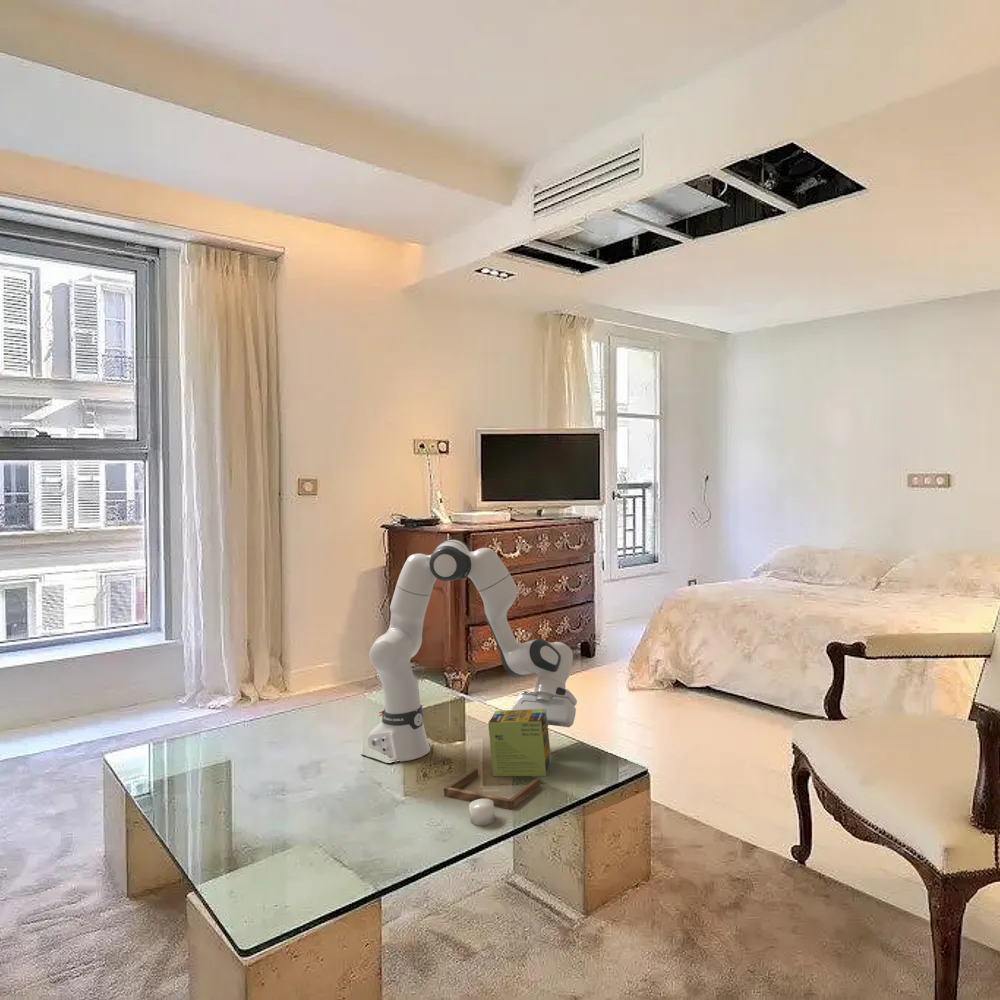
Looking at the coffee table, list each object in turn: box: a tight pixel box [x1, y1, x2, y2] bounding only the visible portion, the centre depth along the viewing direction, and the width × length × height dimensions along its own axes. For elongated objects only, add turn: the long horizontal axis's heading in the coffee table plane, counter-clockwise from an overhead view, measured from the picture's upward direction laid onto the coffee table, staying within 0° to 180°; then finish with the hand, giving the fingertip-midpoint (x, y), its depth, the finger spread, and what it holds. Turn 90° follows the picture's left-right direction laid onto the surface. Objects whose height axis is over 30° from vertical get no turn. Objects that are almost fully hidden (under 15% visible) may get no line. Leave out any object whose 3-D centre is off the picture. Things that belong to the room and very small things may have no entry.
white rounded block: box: [468, 799, 496, 827], centre depth 180 cm, size 6×6×4 cm
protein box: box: [487, 709, 552, 777], centre depth 209 cm, size 10×15×16 cm
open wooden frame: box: [443, 767, 541, 810], centre depth 196 cm, size 21×14×2 cm, turn 57°
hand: (535, 736), depth 216 cm, fingers closed
